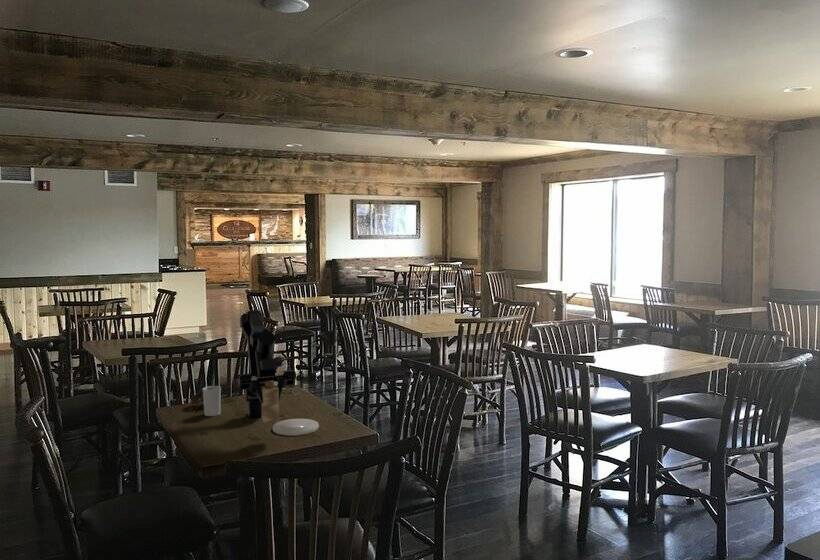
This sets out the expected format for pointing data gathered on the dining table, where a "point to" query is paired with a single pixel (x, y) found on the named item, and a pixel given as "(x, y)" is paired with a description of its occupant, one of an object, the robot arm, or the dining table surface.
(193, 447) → the dining table surface
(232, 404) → the dining table surface
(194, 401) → the pottery mug
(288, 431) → the cream plate
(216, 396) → the drinking glass
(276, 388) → the pepper mill
